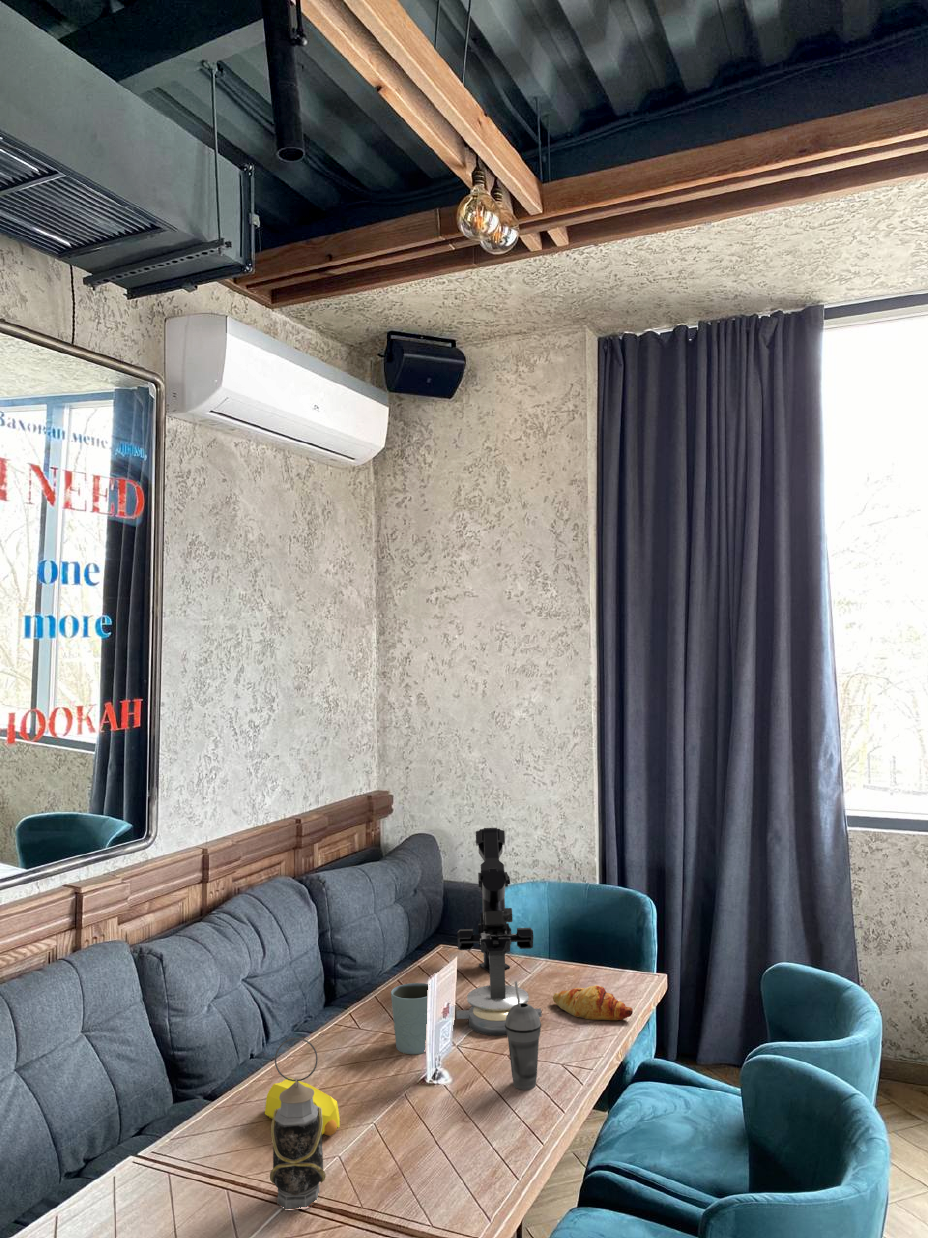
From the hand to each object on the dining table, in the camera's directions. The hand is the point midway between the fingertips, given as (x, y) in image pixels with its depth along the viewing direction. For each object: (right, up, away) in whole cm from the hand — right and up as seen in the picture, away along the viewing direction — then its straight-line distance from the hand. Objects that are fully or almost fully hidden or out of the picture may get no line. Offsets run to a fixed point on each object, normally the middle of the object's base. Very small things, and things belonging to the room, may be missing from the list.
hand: (496, 971), depth 223 cm
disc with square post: (0, -5, -3) cm, 6 cm away
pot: (0, -8, -9) cm, 13 cm away
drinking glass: (-19, -9, -21) cm, 29 cm away
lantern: (-34, -7, -77) cm, 85 cm away
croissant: (+22, -8, -5) cm, 24 cm away
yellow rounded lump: (-38, -8, -53) cm, 66 cm away
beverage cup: (+4, -7, -40) cm, 41 cm away
